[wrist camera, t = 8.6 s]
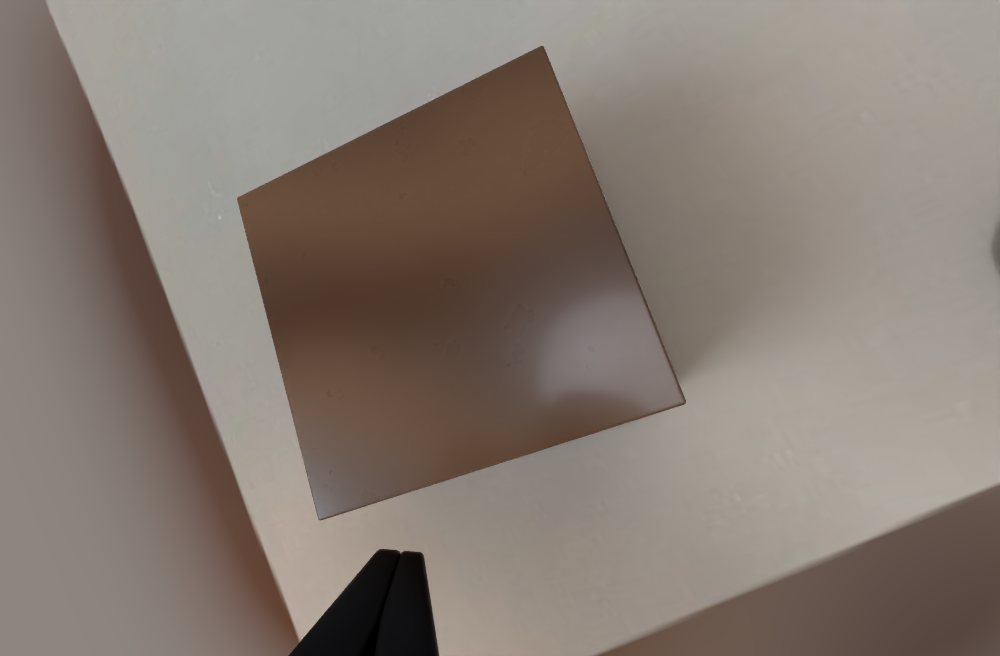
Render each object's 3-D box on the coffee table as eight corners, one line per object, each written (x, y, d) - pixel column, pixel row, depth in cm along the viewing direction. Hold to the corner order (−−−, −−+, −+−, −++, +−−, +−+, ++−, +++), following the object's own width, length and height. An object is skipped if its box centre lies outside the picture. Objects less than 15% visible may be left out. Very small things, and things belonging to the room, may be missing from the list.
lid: (251, 204, 19) (235, 197, 18) (546, 59, 16) (543, 44, 15) (332, 514, 17) (317, 521, 16) (683, 401, 14) (687, 403, 13)
